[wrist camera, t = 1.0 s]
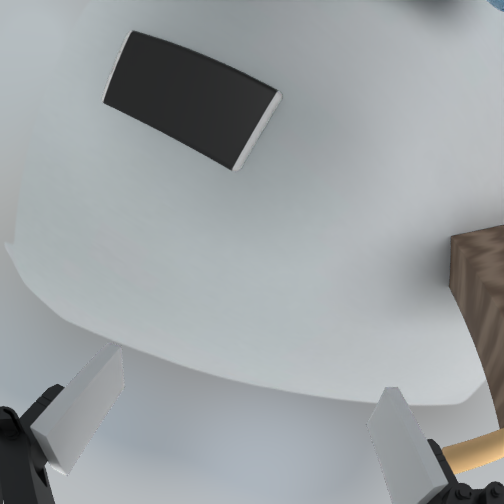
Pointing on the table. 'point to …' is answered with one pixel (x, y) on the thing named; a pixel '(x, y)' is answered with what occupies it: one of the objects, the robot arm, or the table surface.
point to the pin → (475, 452)
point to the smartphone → (190, 97)
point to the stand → (482, 300)
